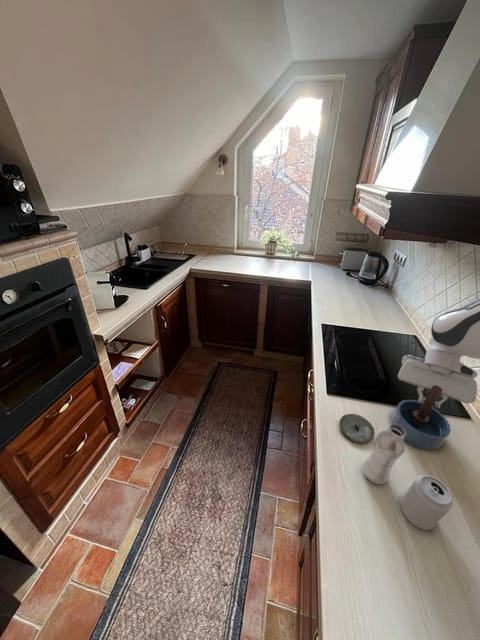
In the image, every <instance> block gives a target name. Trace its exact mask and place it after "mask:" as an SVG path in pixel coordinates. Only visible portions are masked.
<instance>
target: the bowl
mask: <svg viewBox="0 0 480 640" xmlns="http://www.w3.org/2000/svg"><path fill="white" fill-rule="evenodd" d="M421 405H422V402H419V401H418V400H414V399H404V400H401V401H400V402H399V403H398V404H397V406H396V408H395V410H394V412H393V414H392V415H391V424H398V425H400V426H401V427H403V428H404V430H405V432H406V435H405V437H404V440H403V441H404V442H406V443H408V444H410V445H411V446H414V447H416V448H419V449H421V450H426V451H434V450H438V449H439V448H440V447H442V446H443V444H444V442H446V440H447V438H448V437H449V436H450V433H451V431H452V430H451V425H450V422H449V421H448V420H447V418H446V417H445V416H444V415H443V414H442V413H441V412H440V411H439V410H437V408H435V407H432V409H431V410H430V412H429V414H428V417H429V421H428V423H427V424H426V426H418V425H416V424H415V423H413V422H412V420H411V415H412V413H413V412H414V411H415V410H419V409H420V407H421Z"/></svg>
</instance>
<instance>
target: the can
mask: <svg viewBox="0 0 480 640" xmlns="http://www.w3.org/2000/svg"><path fill="white" fill-rule="evenodd" d="M399 503H400V509H401V512H402V514H403V515H404V516H405V518H406V519H407V520H408V521H409V523H411V524H412V525H413V526H415V527H416V528H419V529H420V530H425V531H428V530H429V531H430V530H432V529H433V528H434V527H435V526H436V525H437V524H438V523H439V522H440V521H441V519H443V518H444V516H445V515H446V514H447V513H448V512H449V511H450V510H451V509H452V508H453V503H454V502H453V495H452V493H451V491H450V489H449V487H448V486H447V485H446V484H445V483H444V482H443V481H441V480H440V479H439V478H437V477H435V476H432V475H427V474H425V475H418V476H417V477H416V478H414V480H413V482H412V483H411V485H410V486H409V487H408V489H407V490H406V491H405V493H404V495H402V497H401V499H400V502H399Z"/></svg>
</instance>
